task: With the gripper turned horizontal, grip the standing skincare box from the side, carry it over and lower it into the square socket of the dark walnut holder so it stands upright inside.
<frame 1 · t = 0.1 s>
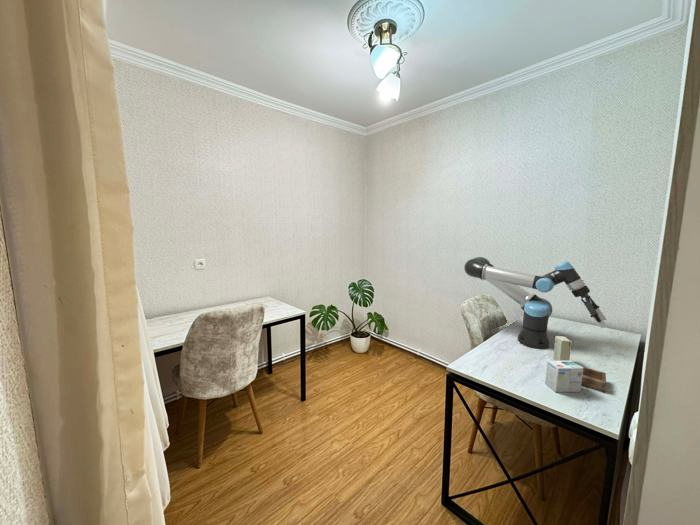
hand: (603, 323, 150), 15 cm above the table, tool tilted 35°, fingers open, 13 cm apart
light bulb box: (561, 388, 118), on the table
skincare box: (560, 362, 140), on the table
walnut holder: (587, 382, 122), on the table
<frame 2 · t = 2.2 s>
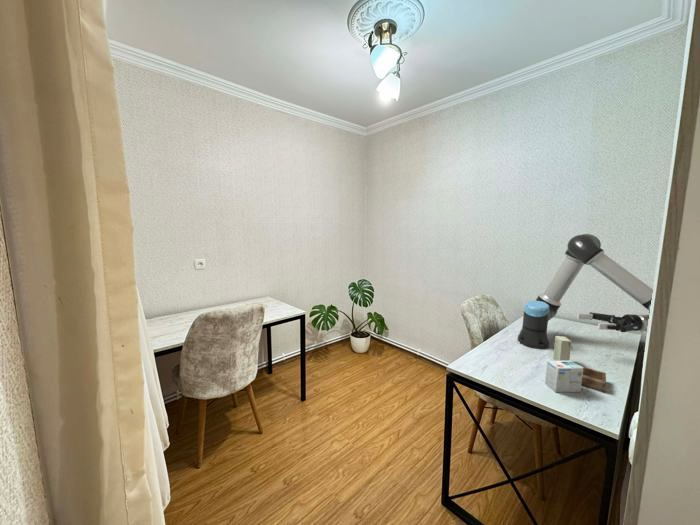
hand: (587, 321, 135), 22 cm above the table, tool horizontal, fingers open, 13 cm apart
nothing on the table moved.
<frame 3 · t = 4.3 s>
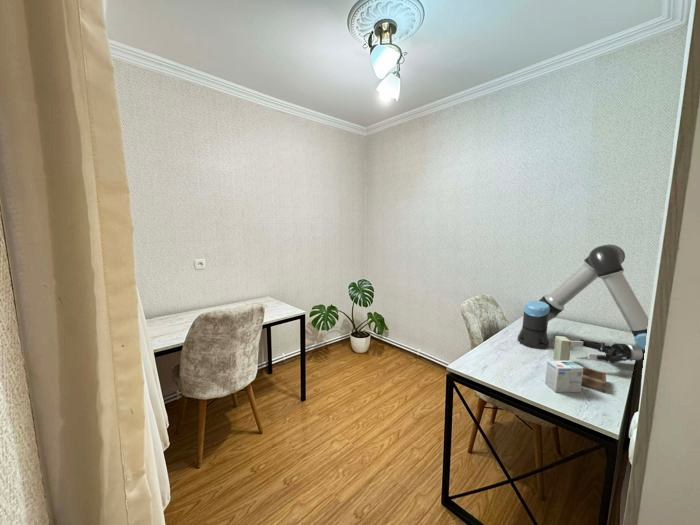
hand: (578, 349, 137), 7 cm above the table, tool horizontal, fingers open, 13 cm apart
nothing on the table moved.
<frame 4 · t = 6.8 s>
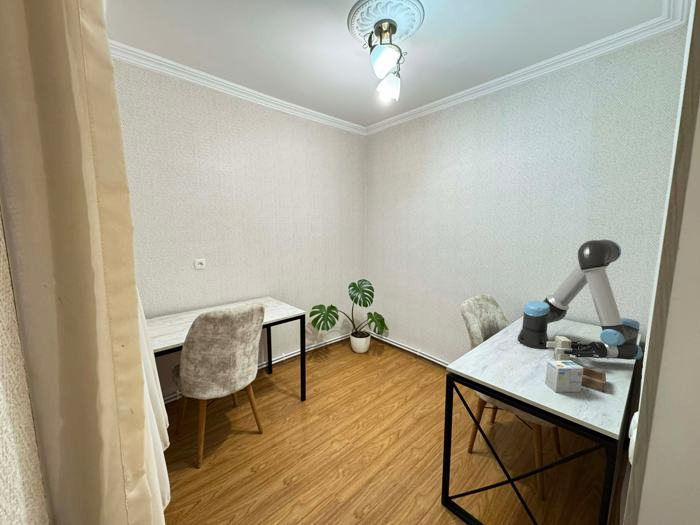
hand: (551, 347, 139), 7 cm above the table, tool horizontal, fingers closed on skincare box, 6 cm apart
skincare box: (560, 362, 140), on the table, touching gripper
everything else where it was.
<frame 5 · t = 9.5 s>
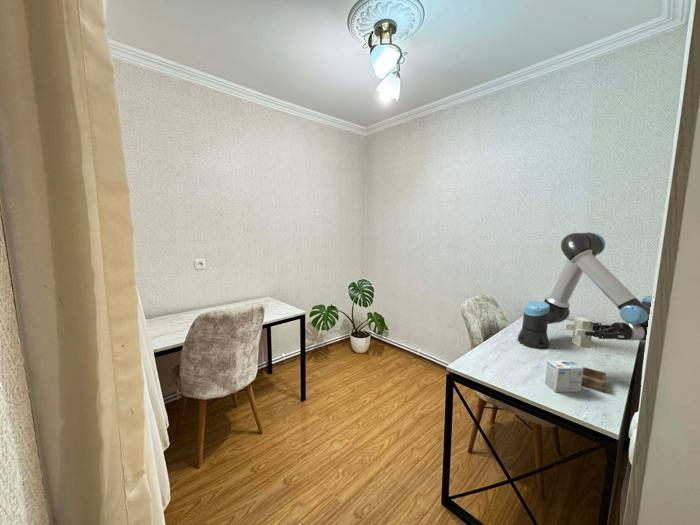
hand: (570, 329, 127), 21 cm above the table, tool horizontal, fingers closed on skincare box, 6 cm apart
skincare box: (580, 345, 128), point 13 cm above the table, touching gripper
everything else where it was.
when the fingers open (9 cm above the table, at t = 12.2 s): skincare box drops 1 cm, resting on walnut holder.
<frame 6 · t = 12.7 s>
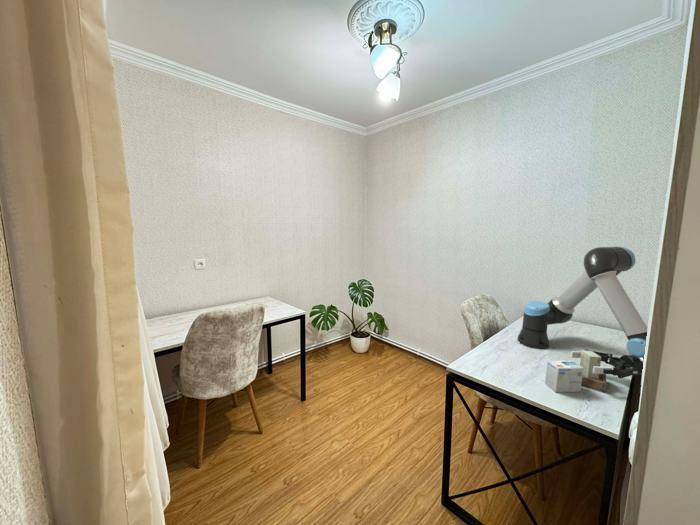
hand: (581, 361, 121), 9 cm above the table, tool horizontal, fingers open, 13 cm apart
skincare box: (587, 380, 122), point 1 cm above the table, touching walnut holder
everything else where it was.
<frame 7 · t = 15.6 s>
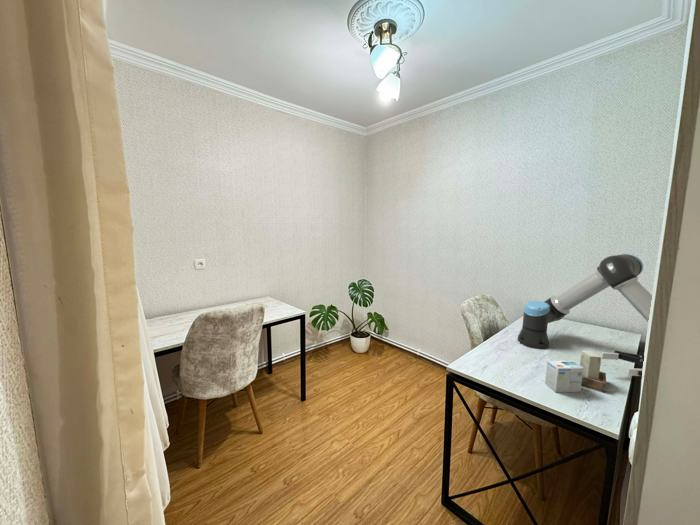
hand: (614, 363, 120), 9 cm above the table, tool horizontal, fingers open, 13 cm apart
nothing on the table moved.
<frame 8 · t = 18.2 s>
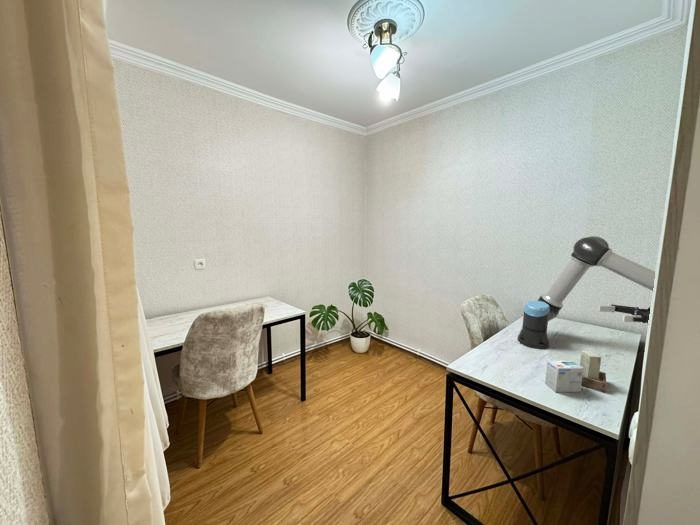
hand: (610, 313, 127), 28 cm above the table, tool horizontal, fingers open, 13 cm apart
nothing on the table moved.
at the end: skincare box 0.2 cm off-centre on the walnut holder, point 0.6 cm above the walnut holder's base; skincare box tilted 0°; the gripper is holding nothing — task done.
